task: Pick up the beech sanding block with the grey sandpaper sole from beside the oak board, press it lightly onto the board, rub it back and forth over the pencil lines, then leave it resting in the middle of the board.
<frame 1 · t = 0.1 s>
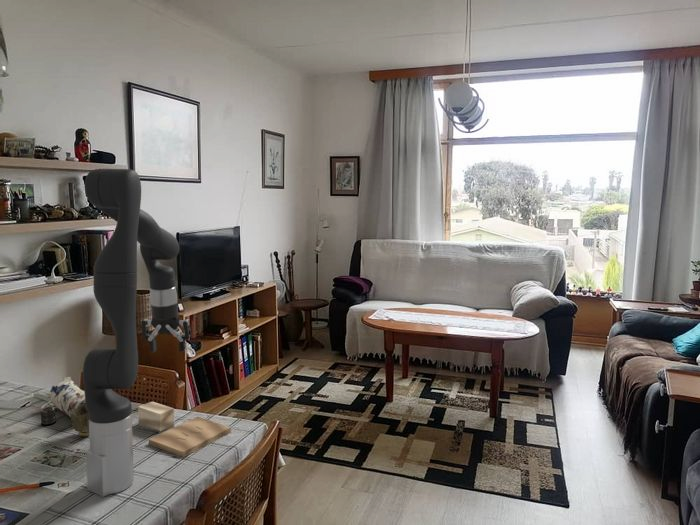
hand: (168, 351, 154), 22 cm above the table, tool pointing down, fingers open, 8 cm apart
oak board: (191, 437, 145), on the table
sanding block: (156, 426, 152), on the table
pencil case: (76, 415, 160), on the table
cup: (85, 435, 145), on the table
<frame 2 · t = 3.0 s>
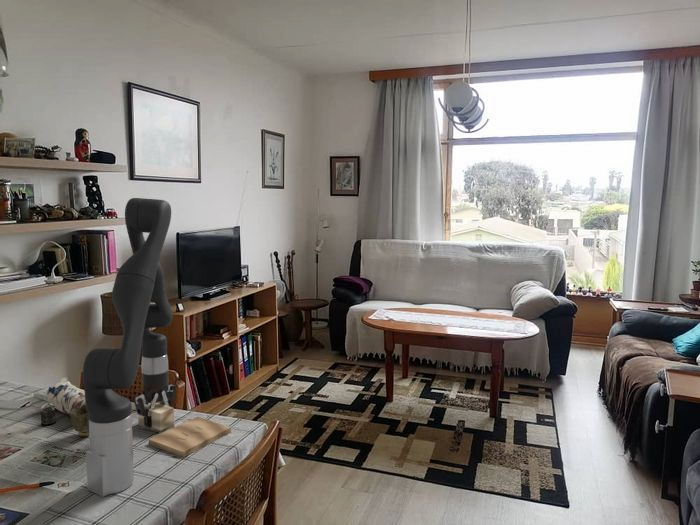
hand: (156, 423, 152), 1 cm above the table, tool pointing down, fingers closed on sanding block, 5 cm apart
sanding block: (156, 426, 152), on the table, touching gripper
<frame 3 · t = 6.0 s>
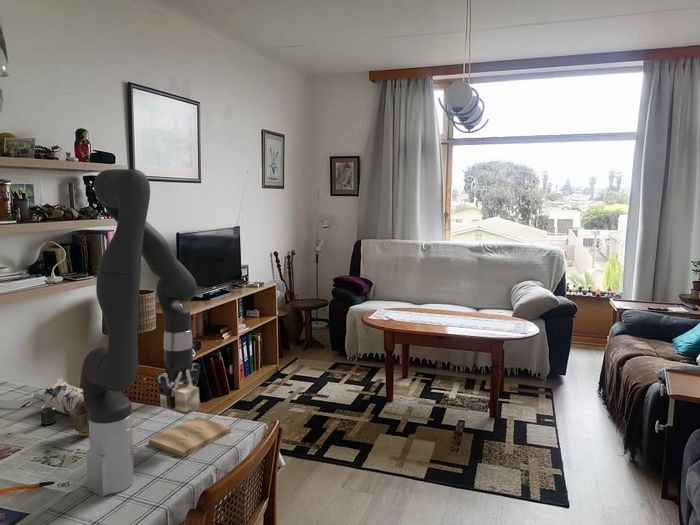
hand: (179, 404, 140), 11 cm above the table, tool pointing down, fingers closed on sanding block, 5 cm apart
sanding block: (179, 407, 140), point 11 cm above the table, touching gripper
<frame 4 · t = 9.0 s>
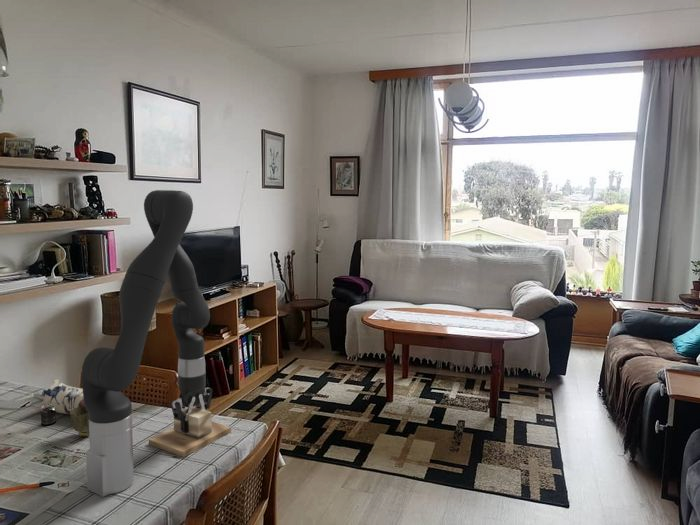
hand: (192, 428, 145), 3 cm above the table, tool pointing down, fingers closed on sanding block, 5 cm apart
sanding block: (192, 431, 145), point 2 cm above the table, touching gripper
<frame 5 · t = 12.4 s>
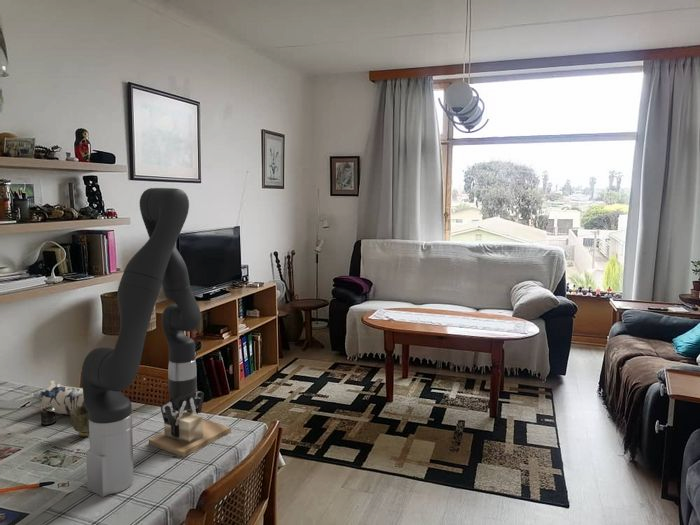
hand: (183, 432, 142), 3 cm above the table, tool pointing down, fingers closed on sanding block, 5 cm apart
sanding block: (183, 435, 142), point 2 cm above the table, touching gripper
when the fingers open (3 cm above the table, at t = 15.2 s): sanding block stays where it is, resting on oak board.
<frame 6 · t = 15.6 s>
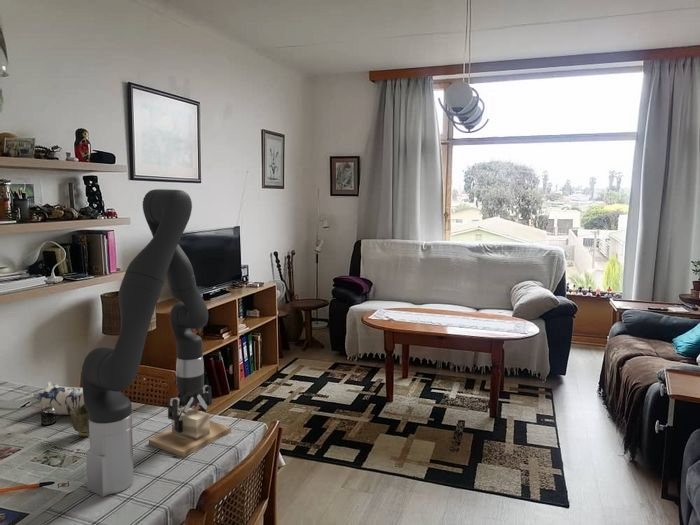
hand: (191, 426, 145), 3 cm above the table, tool pointing down, fingers open, 8 cm apart
sanding block: (190, 433, 145), point 2 cm above the table, touching oak board
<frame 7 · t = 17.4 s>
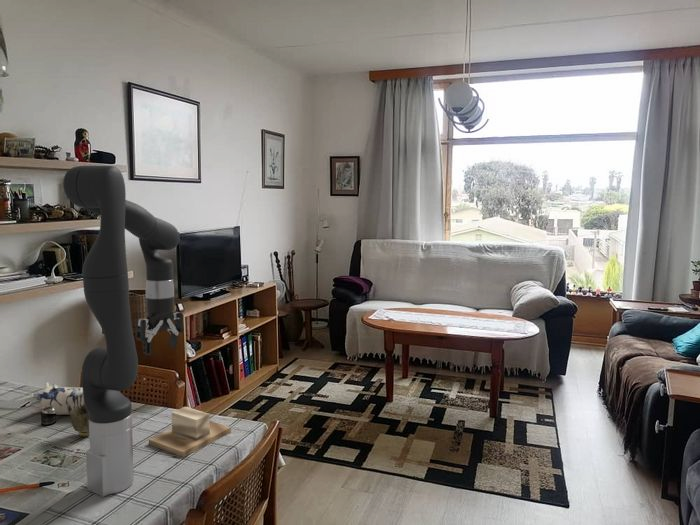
hand: (160, 351, 143), 25 cm above the table, tool pointing down, fingers open, 8 cm apart
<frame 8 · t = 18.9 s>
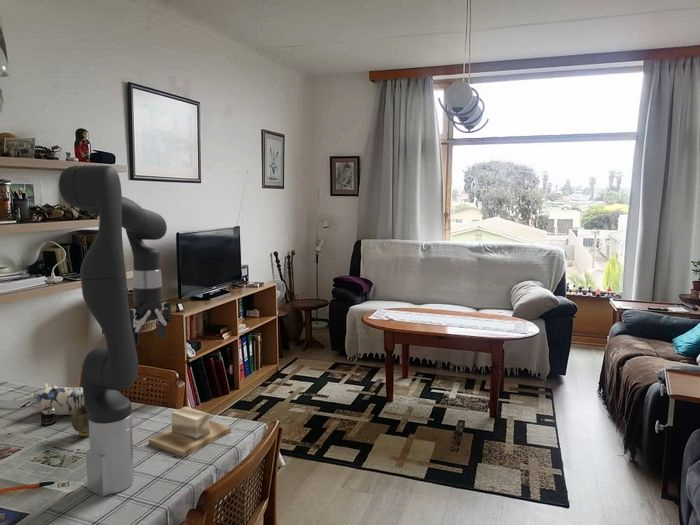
hand: (148, 341, 143), 28 cm above the table, tool pointing down, fingers open, 8 cm apart
at the end: sanding block inside the target area on the oak board (0.0 cm from its centre), point 1.5 cm above the oak board's base; sanding block tilted 0°; the gripper is holding nothing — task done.
